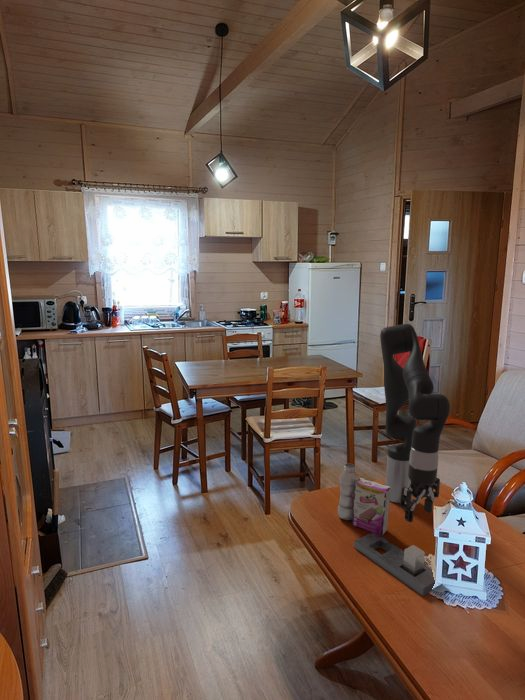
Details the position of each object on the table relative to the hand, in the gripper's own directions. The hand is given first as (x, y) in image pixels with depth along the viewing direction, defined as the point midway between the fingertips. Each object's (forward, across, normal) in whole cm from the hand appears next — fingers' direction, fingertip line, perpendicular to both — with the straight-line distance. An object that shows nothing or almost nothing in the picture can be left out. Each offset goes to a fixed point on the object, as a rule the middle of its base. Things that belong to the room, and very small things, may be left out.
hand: (418, 516), depth 131 cm
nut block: (+19, 0, 0) cm, 19 cm away
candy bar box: (+20, -8, -24) cm, 32 cm away
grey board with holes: (+19, 0, -6) cm, 20 cm away
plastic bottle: (+20, -6, -33) cm, 39 cm away
